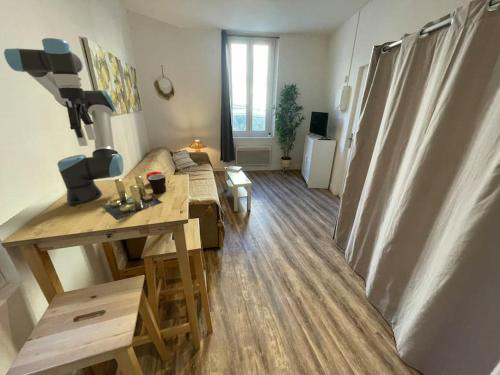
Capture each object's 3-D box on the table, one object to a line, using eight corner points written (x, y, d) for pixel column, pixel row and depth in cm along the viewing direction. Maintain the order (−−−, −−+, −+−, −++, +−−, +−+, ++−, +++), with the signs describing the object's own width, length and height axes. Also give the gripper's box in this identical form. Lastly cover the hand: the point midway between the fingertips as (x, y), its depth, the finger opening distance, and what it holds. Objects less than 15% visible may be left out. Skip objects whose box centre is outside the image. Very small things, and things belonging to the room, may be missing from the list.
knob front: (119, 213, 95) (113, 191, 90) (121, 208, 99) (115, 187, 94) (142, 209, 98) (136, 187, 93) (143, 205, 101) (138, 184, 97)
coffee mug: (162, 197, 112) (159, 180, 108) (148, 196, 114) (144, 179, 110) (174, 188, 123) (171, 172, 119) (161, 188, 124) (157, 172, 120)
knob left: (154, 198, 108) (149, 178, 104) (145, 201, 105) (140, 181, 101) (145, 193, 114) (141, 174, 109) (137, 196, 110) (132, 177, 106)
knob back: (116, 207, 100) (110, 186, 96) (108, 206, 101) (101, 185, 96) (130, 198, 108) (124, 178, 104) (122, 198, 109) (116, 178, 105)
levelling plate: (102, 208, 102) (100, 202, 101) (145, 194, 117) (143, 188, 115) (117, 222, 90) (115, 215, 89) (163, 204, 105) (162, 198, 103)
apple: (163, 181, 135) (161, 169, 132) (164, 185, 127) (162, 173, 124) (148, 183, 132) (145, 171, 128) (148, 188, 124) (145, 176, 121)
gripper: (71, 86, 72) (91, 147, 80) (90, 88, 93) (104, 136, 101) (43, 86, 69) (67, 149, 78) (69, 88, 90) (86, 138, 99)
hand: (88, 142), depth 90 cm, fingers open, 13 cm apart
